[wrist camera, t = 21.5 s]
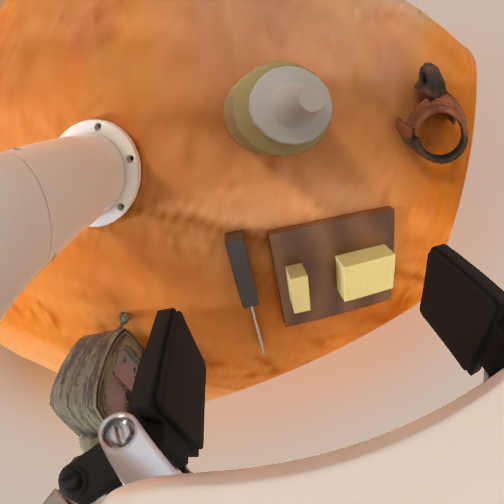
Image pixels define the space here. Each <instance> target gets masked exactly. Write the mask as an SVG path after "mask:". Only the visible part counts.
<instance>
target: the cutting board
mask: <svg viewBox="0 0 504 504" xmlns="http://www.w3.org/2000/svg"><path fill="white" fill-rule="evenodd" d="M268 237H269V242H270V247H271V252H272V257H273V263H274V268H275V273H276V279H277V284H278V289H279V295H280V300H281V306H282V311H283V317H284V322H285V326H286V327H289V326H293V325H297V324H301V323H306V322H310V321H314V320H318V319H322V318H325V317H329V316H333V315H337V314H340V313H344V312H348V311H351V310H355V309H358V308H362V307H365V306H369V305H372V304H375V303H378V302H382V301H385V300H388V299H390V291H391V289H388V290H385V291H381V292H378V293H374V294H371V295H368V296H364V297H361V298H357V299H354V300H350V301H346V302H345V301H344V300H343V298H342V296H341V295H340V293H339V291H338V290H337V276H336V258H335V256H337V255H341V254H345V253H349V252H354V251H358V250H362V249H366V248H370V247H374V246H378V245H382V244H385V245H386V246H387V247H388V248H389V249H390V250H392V251H393V247H394V209H393V208H392V207H390V206H388V207H383V208H377V209H372V210H367V211H362V212H357V213H352V214H347V215H342V216H337V217H333V218H328V219H323V220H318V221H313V222H308V223H304V224H299V225H294V226H289V227H285V228H280V229H275V230H271V231H268ZM299 263H302V265H303V267H304V269H305V271H306V273H307V275H308V284H309V296H310V309H311V310H309V311H305V312H300V313H296V314H295V313H294V310H293V307H292V304H291V301H290V296H289V289H288V282H287V274H286V266H289V265H294V264H299Z"/></svg>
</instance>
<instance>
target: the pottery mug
mask: <svg viewBox="0 0 504 504" xmlns="http://www.w3.org/2000/svg"><path fill="white" fill-rule="evenodd" d="M414 88H415V89H419V90H421V91H422V93H423V94H425V95H426V96H428V97H430V98H435V99H434V101H432V102H430V101H429V100H428V99H424V100H423V101H422V102H421V103H420V104H419V105H417V106H416V108H415V109H414V110H413V112H412V113H411V114H410V116H409V117H408V119H407V122H406V123H405V122H403V121H402V120H401V119H400V118H397V128H398V130H399V132H400V134H402V135H403V140H404V141H405V142H406V143H407V144H408V145H409V146H410V148H411V149H412V150H414V151H415V152H416V153H417V154H419V155H421V156H422V157H424V158H425V159H427V160H430V161H431V162H434V163H440V164H443V163H449V162H452V161H454V160H455V159H457V158H458V157H459V156H461V154H462V153H463V152H464V150H465V148H466V145H467V141H468V136H467V135H468V131H467V122H466V117H465V113H464V111H463V109H462V107H461V106H460V104H459V103H458V102H457V100H456V99H455V98H454V97H453V96H452V95H451V94H450V93H448V92H447V91H446V87H445V82H444V80H443V77H442V75H441V73H440V70H439V68H438V67H437V66H435V65H434V64H432V63H424V65H423V66H421V68H420V71H419V80H418V82H417V83H416V84H415V85H414ZM436 113H446V119H448V120H449V121H451V123H452V124H455V122H456V120H457V122H458V123H459V125H460V129H461V139H460V142H459V144H458V145H457V147H456V148H455V149H454V150H453V151H452V152H450V153H448V154H444V155H434V154H431V153H429V152H428V151H426V150H425V149H424V148H423V146H422V145H421V143H420V140H419V138H418V137H416V136H415V129H417V130H419V129H420V127H421V125H422V124H423V122H424V120H425V119H427V118H428V117H429V116H431V115H433V114H436Z"/></svg>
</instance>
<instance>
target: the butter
mask: <svg viewBox="0 0 504 504" xmlns="http://www.w3.org/2000/svg"><path fill="white" fill-rule="evenodd" d="M395 257H396V254H395V253H394V252H393V251H392V250H390V249H389V248H388V247H387V246H386V245H385V244H382V245H378V246H374V247H370V248H366V249H362V250H358V251H354V252H349V253H345V254H341V255H337V256H335V258H336V276H337V290H338V291H339V293H340V295H341V296H342V298H343V300H344V301H345V302H346V301H350V300H354V299H357V298H361V297H364V296H368V295H371V294H374V293H378V292H381V291H385V290H388V289H391V288H393V284H394V272H395Z"/></svg>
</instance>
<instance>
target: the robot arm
mask: <svg viewBox="0 0 504 504" xmlns="http://www.w3.org/2000/svg"><path fill="white" fill-rule="evenodd" d="M100 125H101V129H100ZM131 156H133V157H134V160H131ZM140 181H141V162H140V158H139V153H138V151H137V149H136V146H135V144H134V142H133V141H132V139H131V138H130V136H129V135H128V134H127V133H126V132H125V131H124V130H123V129H122V128H121V127H119V126H117V125H116V124H114V123H112V122H109V121H106V120H98V119H93V120H85V121H82V122H79V123H77V124H75V125H73V126H71V127H70V128H69V129H67V130H66V131H65V132H64V133H63V134H62V135H61V136H60V138H56V139H51V140H46V141H41V142H37V143H32V144H28V145H24V146H20V147H16V148H12V149H8V150H4V151H1V152H0V323H1V321H2V319H3V317H4V316H5V314H6V313H7V311H8V310H9V308H10V307H11V306H12V304H13V303H14V302H15V300H16V299H17V298H18V296H19V295H20V294H21V293H22V292H23V290H24V289H25V288H26V287H27V286H28V285H29V284H30V283H31V281H32V280H33V279H34V278H35V277H36V276H37V275H38V274H39V273H40V272H41V271H42V270H43V269H44V268H45V267H46V266H47V265H48V264H49V263H50V262H51V261H52V260H53V259H54V258H55V257H56V256H57V255H58V254H59V253H60V252H61V251H62V250H63V249H64V248H66V247H67V246H68V245H69V244H70V243H71V242H72V241H73V240H74V239H75V238H76V237H77V236H79V235H80V234H81V233H82V232H83V231H84V230H85V229H86V228H88V227H100V226H105V225H108V224H110V223H113V222H114V221H116V220H117V219H119V218H120V217H121V216H122V215H123V214H124V213H125V212H127V210H128V209H129V208H130V206H131V205H132V204H133V202H134V200H135V198H136V196H137V193H138V190H139V187H140ZM122 204H123V205H124V207H123V206H122ZM420 311H421V314H422V316H423V317H424V318H425V319H426V321H427V322H428V323H429V324H430V325H431V327H432V328H433V329H434V331H435V332H436V333H437V334H438V336H439V337H440V338H441V340H442V341H443V342H444V344H445V345H446V346H447V348H448V349H449V350H450V352H451V353H452V354H453V356H454V357H455V358H456V360H457V361H458V362H459V364H460V365H461V367H462V368H463V369H464V370H467V371H468V373H469V374H470V375H473V374H475V373H476V372H478V371H479V370H480V369H481V367H483V368H484V381H483V383H482V384H480V385H479V386H477V387H476V388H474V389H473V390H471V391H469V392H468V393H466V394H464V395H463V396H461V397H459V398H458V399H456V400H454V401H452V402H451V403H449V404H447V405H445V406H443V407H442V408H440V409H438V410H436V411H434V412H432V413H430V414H428V415H426V416H424V417H422V418H420V419H418V420H416V421H414V422H412V423H409V424H407V425H405V426H403V427H400V428H398V429H396V430H393V431H391V432H389V433H386V434H383V435H381V436H378V437H375V438H373V439H370V440H367V441H364V442H361V443H358V444H355V445H352V446H349V447H346V448H343V449H339V450H336V451H332V452H329V453H325V454H321V455H317V456H313V457H309V458H305V459H300V460H296V461H290V462H285V463H279V464H273V465H267V466H261V467H254V468H246V469H238V470H227V471H214V472H202V473H193V472H192V471H191V470H190V469H189V468H188V467H187V464H188V457H198V455H199V449H202V448H203V440H204V439H203V438H204V406H205V405H204V404H205V382H206V366H205V362H204V360H203V358H202V356H201V354H200V352H199V350H198V348H197V345H196V343H195V341H194V339H193V337H192V335H191V333H190V330H189V328H188V326H187V324H186V322H185V319H184V317H183V315H182V313H181V312H180V311H177V312H176V310H175V309H174V308H170V309H164V310H159V311H158V312H157V314H156V317H155V321H154V324H153V327H152V331H151V334H150V337H149V341H148V344H147V348H146V349H145V350H144V351H143V353H142V355H141V359H140V362H139V366H138V369H137V373H136V377H135V380H134V384H133V388H132V392H131V396H130V400H129V404H128V408H127V412H118V413H114V414H112V415H110V416H108V417H107V418H106V419H105V420H104V421H103V422H102V424H101V425H100V428H99V430H98V439H99V443H98V444H96V445H95V446H94V447H92V448H91V449H89V450H88V451H87V452H85V453H84V454H83V455H81V456H80V457H78V458H77V459H75V460H74V461H72V462H71V463H69V464H68V465H67V466H65V467H64V468H63V469H62V471H61V473H60V475H59V479H58V482H59V488H60V489H59V490H57V489H54V490H53V491H52V493H51V494H50V495H49V497H48V498H47V499H46V500H45V502H44V503H43V504H504V291H503V290H502V289H500V288H499V287H498V286H497V285H496V284H495V283H494V282H493V281H491V280H490V279H489V278H488V277H487V276H486V275H484V274H483V273H482V272H480V271H479V270H478V269H477V268H476V267H474V266H473V265H472V264H471V263H470V262H468V261H467V260H466V259H464V258H463V257H462V256H461V255H459V254H458V253H457V252H455V251H454V250H453V249H451V248H450V247H449V246H447V245H445V244H442V245H438V246H435V247H433V248H432V249H431V251H430V252H429V254H428V259H427V267H426V274H425V281H424V287H423V293H422V299H421V304H420Z"/></svg>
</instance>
